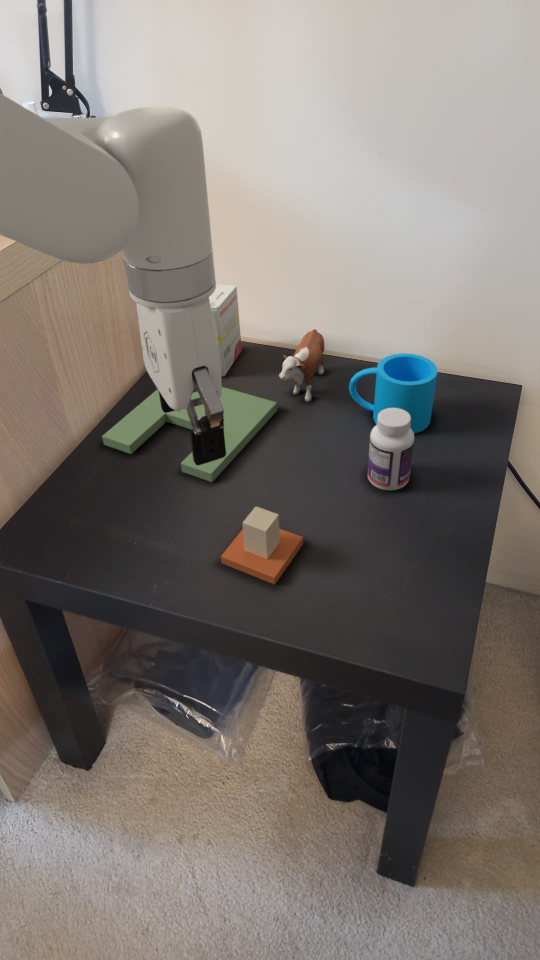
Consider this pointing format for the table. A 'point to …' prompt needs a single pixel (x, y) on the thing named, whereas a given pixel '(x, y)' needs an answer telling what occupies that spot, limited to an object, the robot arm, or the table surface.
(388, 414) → the pill bottle
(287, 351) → the table surface
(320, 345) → the bull figurine
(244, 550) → the terracotta pad
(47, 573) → the table surface
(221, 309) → the ink box
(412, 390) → the mug
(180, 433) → the table surface
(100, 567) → the table surface
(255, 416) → the green mat
